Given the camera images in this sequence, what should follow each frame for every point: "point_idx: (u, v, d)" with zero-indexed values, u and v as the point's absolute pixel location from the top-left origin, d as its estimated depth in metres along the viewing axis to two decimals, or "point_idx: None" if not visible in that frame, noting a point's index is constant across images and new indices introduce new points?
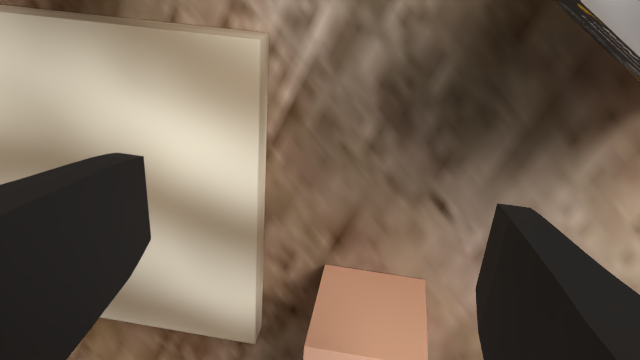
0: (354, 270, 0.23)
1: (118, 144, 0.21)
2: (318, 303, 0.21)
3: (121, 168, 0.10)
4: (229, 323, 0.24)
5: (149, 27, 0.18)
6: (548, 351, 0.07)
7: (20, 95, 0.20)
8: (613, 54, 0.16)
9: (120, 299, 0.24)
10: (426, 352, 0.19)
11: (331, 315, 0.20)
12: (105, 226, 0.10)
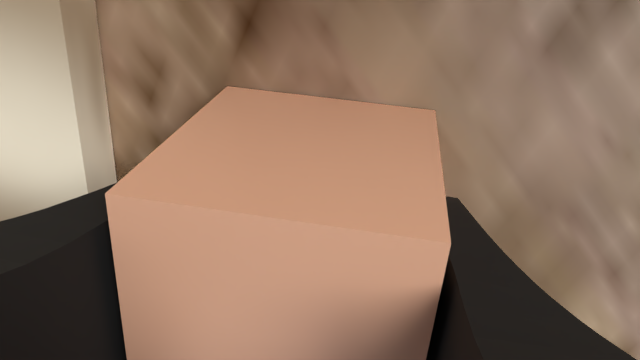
0: (287, 96, 0.11)
1: None
2: (185, 129, 0.09)
3: None
4: None
5: None
6: (443, 334, 0.07)
7: None
8: None
9: None
10: (444, 214, 0.07)
11: (208, 147, 0.08)
12: None
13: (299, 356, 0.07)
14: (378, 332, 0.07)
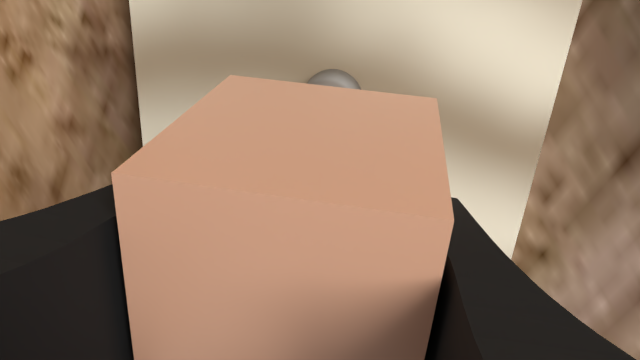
0: (290, 85, 0.11)
1: (380, 31, 0.16)
2: (190, 114, 0.09)
3: None
4: None
5: None
6: (443, 334, 0.07)
7: None
8: None
9: None
10: (447, 193, 0.07)
11: (212, 130, 0.08)
12: None
13: (303, 336, 0.07)
14: (381, 311, 0.07)
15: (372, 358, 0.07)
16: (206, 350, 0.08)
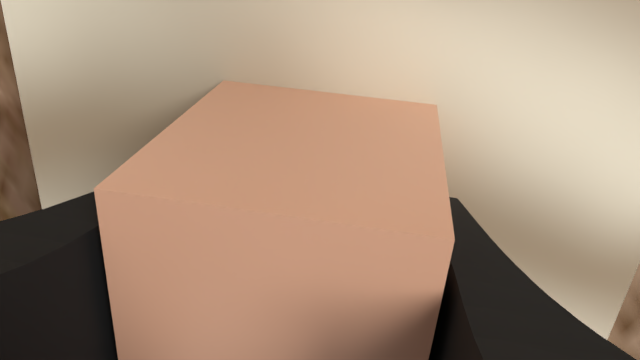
0: (285, 90, 0.11)
1: None
2: (179, 123, 0.09)
3: None
4: None
5: None
6: (443, 334, 0.07)
7: (205, 4, 0.10)
8: None
9: None
10: (447, 210, 0.07)
11: (202, 141, 0.08)
12: None
13: (296, 357, 0.07)
14: (378, 333, 0.07)
15: None
16: None
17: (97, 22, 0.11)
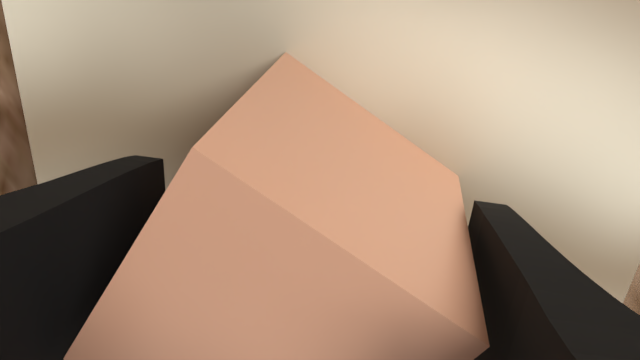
0: None
1: (392, 103, 0.11)
2: None
3: (142, 171, 0.10)
4: None
5: None
6: (514, 345, 0.07)
7: (205, 4, 0.10)
8: None
9: None
10: (212, 128, 0.07)
11: None
12: (126, 229, 0.09)
13: (273, 335, 0.07)
14: (273, 258, 0.06)
15: (331, 296, 0.07)
16: None
17: (98, 22, 0.11)
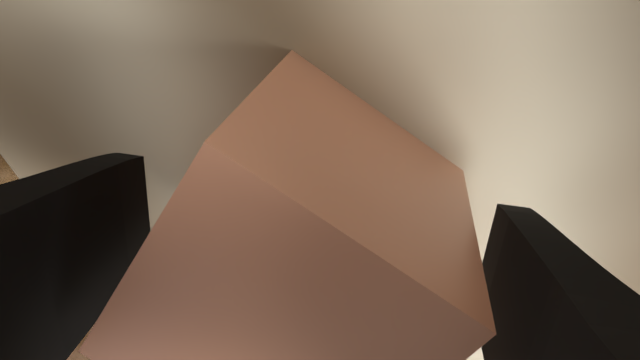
0: None
1: None
2: None
3: (121, 168, 0.10)
4: None
5: None
6: (548, 351, 0.07)
7: (444, 10, 0.10)
8: None
9: None
10: (222, 123, 0.07)
11: None
12: (105, 226, 0.10)
13: (284, 325, 0.07)
14: (283, 250, 0.07)
15: (341, 287, 0.07)
16: None
17: None
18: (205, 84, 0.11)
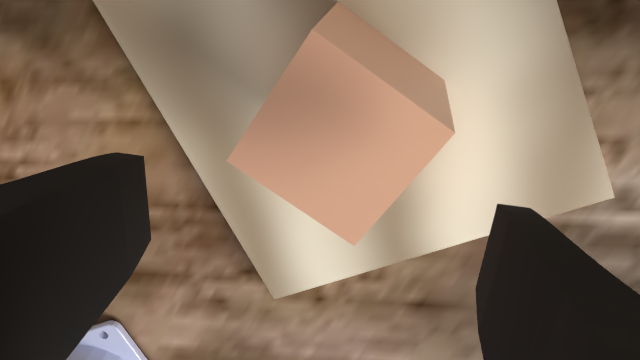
0: None
1: None
2: None
3: (121, 168, 0.10)
4: (281, 271, 0.22)
5: (583, 94, 0.17)
6: (548, 351, 0.07)
7: None
8: None
9: (226, 164, 0.20)
10: (316, 25, 0.13)
11: None
12: (105, 226, 0.10)
13: (345, 134, 0.14)
14: (347, 88, 0.13)
15: (376, 109, 0.13)
16: (333, 186, 0.14)
17: None
18: (281, 24, 0.18)
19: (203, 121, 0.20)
